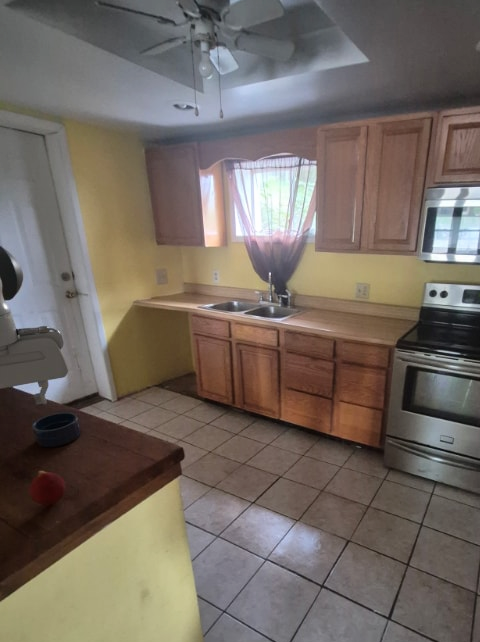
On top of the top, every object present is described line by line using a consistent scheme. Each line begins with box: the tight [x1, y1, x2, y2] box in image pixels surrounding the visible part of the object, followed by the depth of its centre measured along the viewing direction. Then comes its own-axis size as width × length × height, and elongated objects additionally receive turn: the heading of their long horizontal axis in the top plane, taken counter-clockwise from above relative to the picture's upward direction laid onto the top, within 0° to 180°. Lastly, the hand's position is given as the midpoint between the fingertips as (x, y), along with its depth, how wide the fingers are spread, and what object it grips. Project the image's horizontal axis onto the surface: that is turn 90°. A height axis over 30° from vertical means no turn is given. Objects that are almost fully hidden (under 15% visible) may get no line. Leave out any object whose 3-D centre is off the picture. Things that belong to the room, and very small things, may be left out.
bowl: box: [31, 412, 82, 448], centre depth 95 cm, size 10×10×5 cm
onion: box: [28, 470, 67, 506], centre depth 72 cm, size 6×6×8 cm
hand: (9, 410), depth 64 cm, fingers open, 8 cm apart
